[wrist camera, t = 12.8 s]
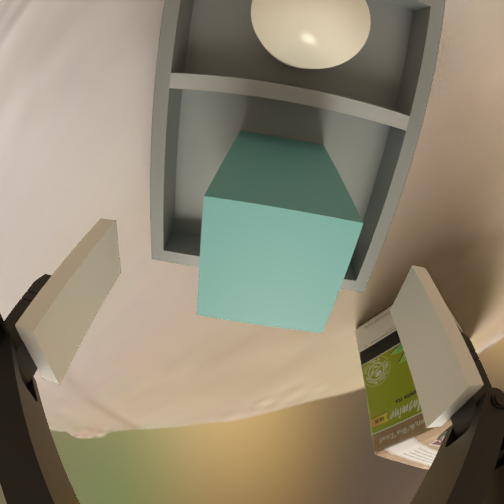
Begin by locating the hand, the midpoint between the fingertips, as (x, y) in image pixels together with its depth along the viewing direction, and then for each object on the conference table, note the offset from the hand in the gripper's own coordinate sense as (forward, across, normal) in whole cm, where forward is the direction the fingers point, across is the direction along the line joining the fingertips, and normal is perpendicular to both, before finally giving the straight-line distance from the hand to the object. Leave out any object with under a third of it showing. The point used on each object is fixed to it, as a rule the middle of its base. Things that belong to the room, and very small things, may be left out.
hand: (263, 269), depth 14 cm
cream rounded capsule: (+12, +1, +11) cm, 16 cm away
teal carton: (+12, 0, 0) cm, 12 cm away
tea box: (+13, +21, -16) cm, 29 cm away
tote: (+13, +1, +4) cm, 13 cm away
